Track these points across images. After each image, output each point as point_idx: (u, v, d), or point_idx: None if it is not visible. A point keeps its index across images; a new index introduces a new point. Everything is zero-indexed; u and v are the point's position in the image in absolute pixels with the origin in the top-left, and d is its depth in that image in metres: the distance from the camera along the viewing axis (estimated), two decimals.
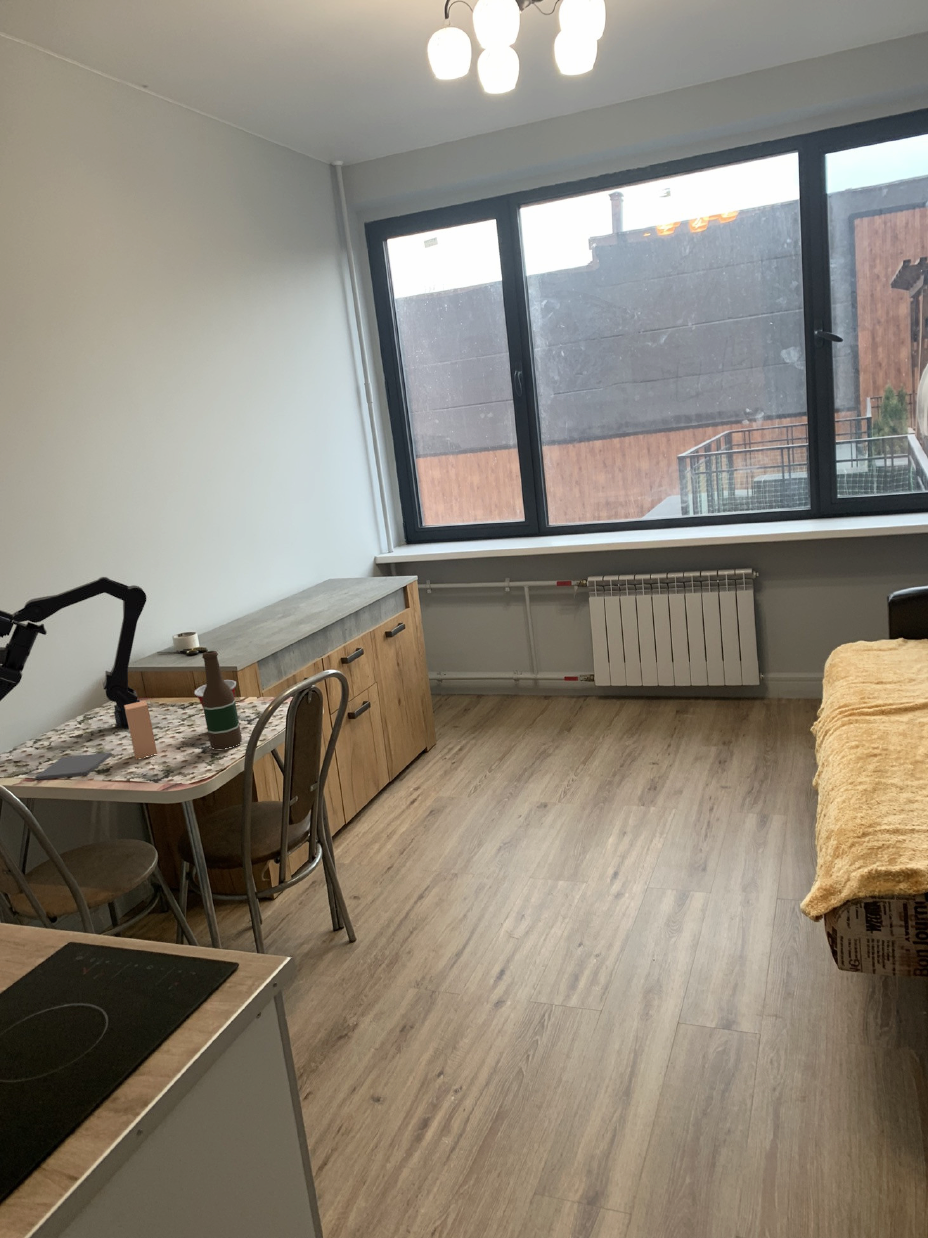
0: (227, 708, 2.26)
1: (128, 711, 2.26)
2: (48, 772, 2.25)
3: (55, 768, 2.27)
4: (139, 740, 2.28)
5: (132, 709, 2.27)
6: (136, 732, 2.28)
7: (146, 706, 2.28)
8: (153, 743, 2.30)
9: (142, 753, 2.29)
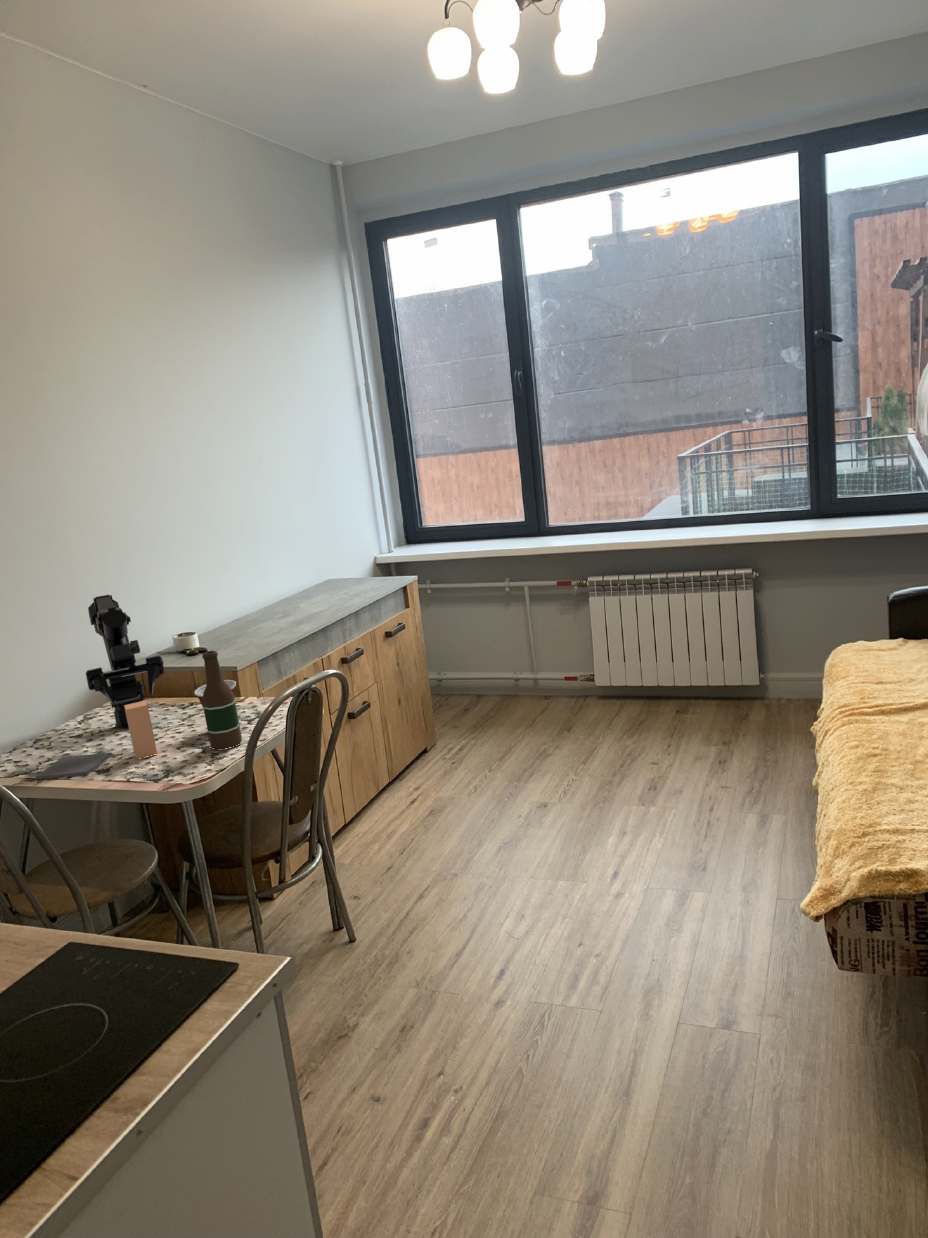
0: (227, 708, 2.26)
1: (128, 711, 2.26)
2: (48, 772, 2.25)
3: (55, 768, 2.27)
4: (139, 740, 2.28)
5: (132, 709, 2.27)
6: (136, 732, 2.28)
7: (146, 706, 2.28)
8: (153, 743, 2.30)
9: (142, 753, 2.29)
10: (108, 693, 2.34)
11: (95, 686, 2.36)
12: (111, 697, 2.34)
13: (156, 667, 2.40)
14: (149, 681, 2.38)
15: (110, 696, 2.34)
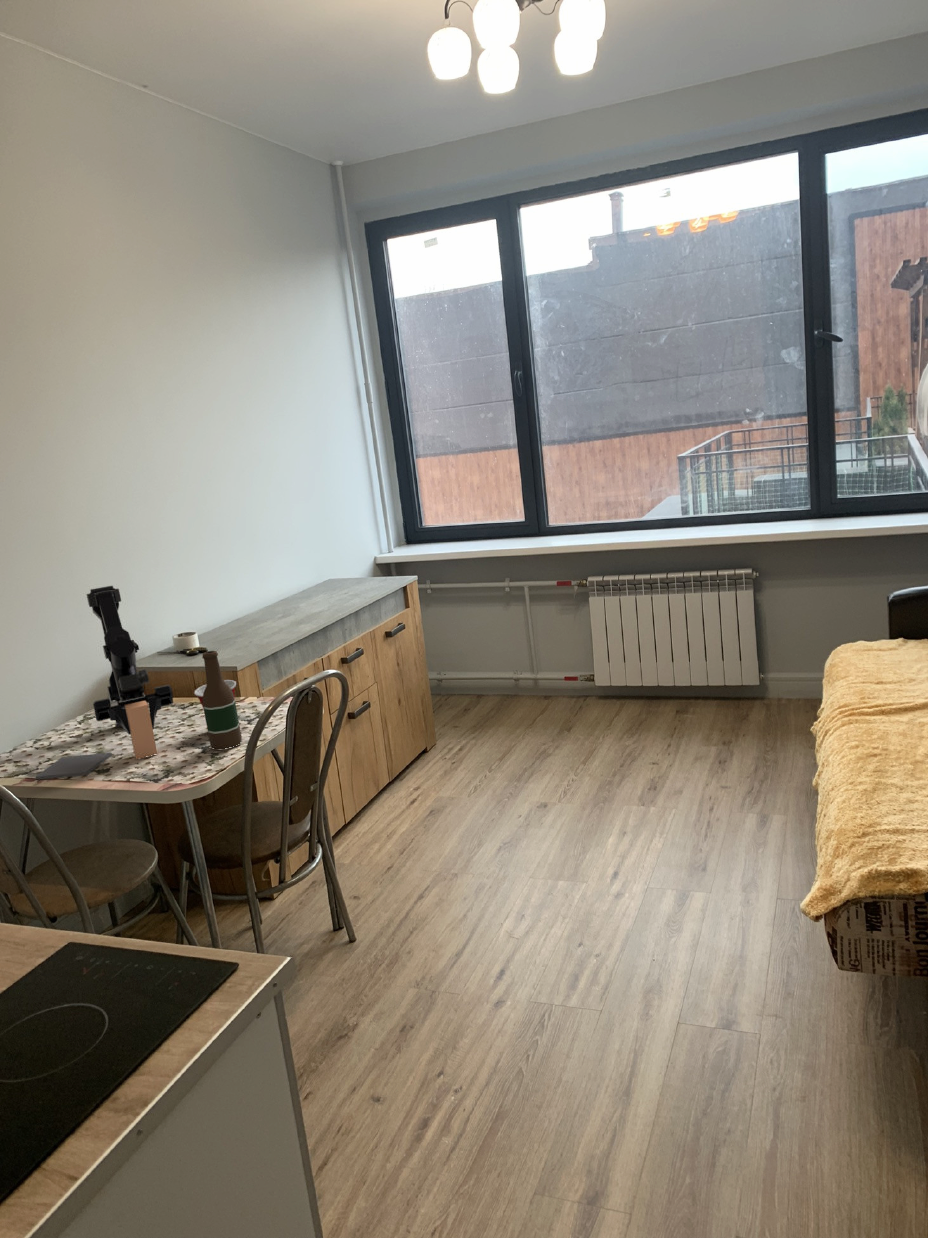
0: (227, 708, 2.26)
1: (128, 711, 2.26)
2: (48, 772, 2.25)
3: (55, 768, 2.27)
4: (139, 740, 2.28)
5: (132, 709, 2.27)
6: (136, 732, 2.28)
7: (146, 706, 2.28)
8: (153, 743, 2.30)
9: (142, 753, 2.29)
10: (124, 723, 2.28)
11: (110, 715, 2.30)
12: (127, 727, 2.28)
13: (157, 699, 2.33)
14: (150, 713, 2.31)
15: (126, 726, 2.28)
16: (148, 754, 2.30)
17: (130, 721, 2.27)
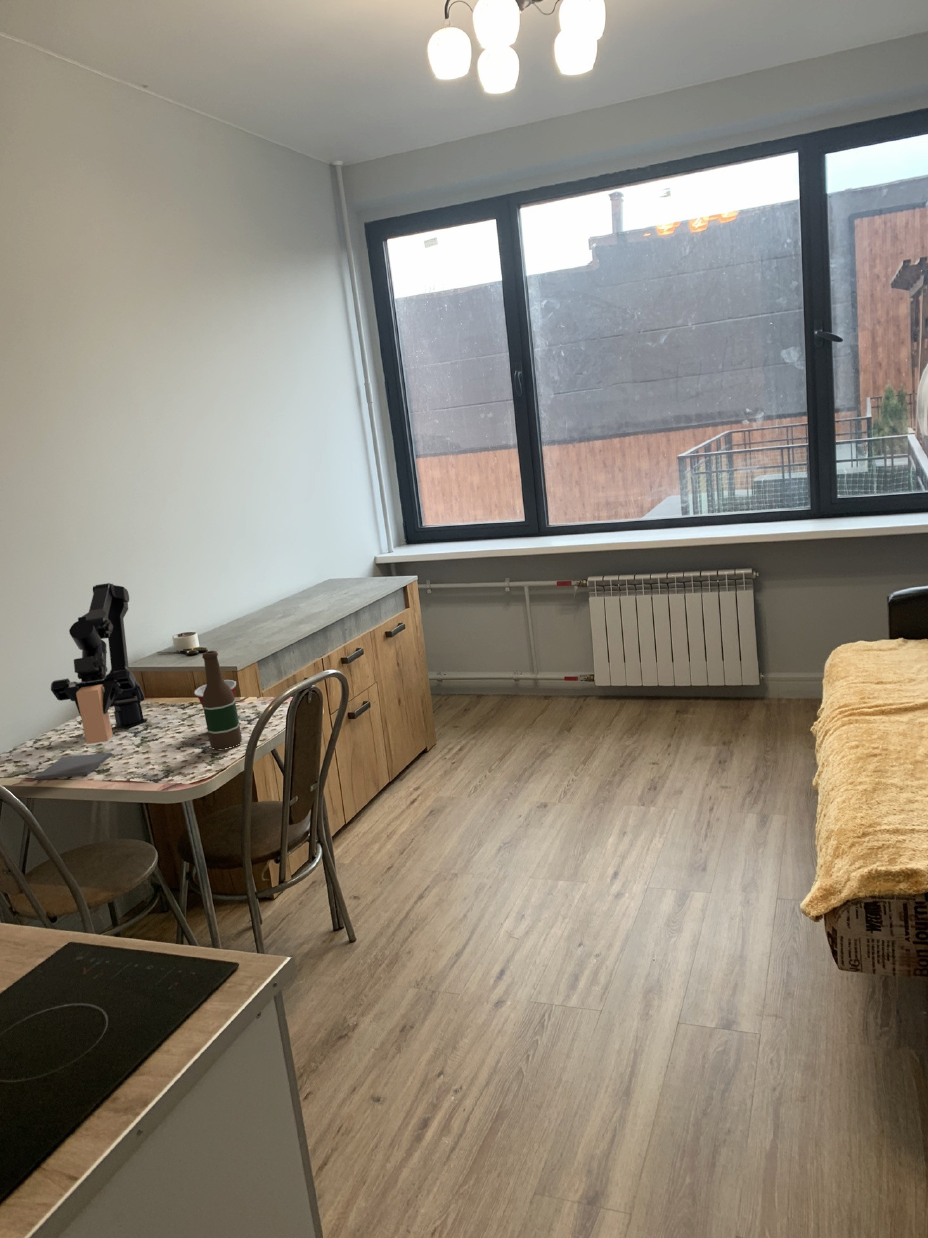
0: (227, 708, 2.26)
1: (78, 694, 2.23)
2: (48, 772, 2.25)
3: (55, 768, 2.27)
4: (89, 724, 2.25)
5: (82, 693, 2.23)
6: (86, 716, 2.24)
7: (96, 691, 2.23)
8: (103, 729, 2.25)
9: (93, 738, 2.25)
10: (77, 705, 2.25)
11: (69, 696, 2.28)
12: (79, 710, 2.25)
13: (113, 683, 2.27)
14: (104, 698, 2.27)
15: (79, 709, 2.25)
16: (98, 739, 2.26)
17: (80, 705, 2.23)
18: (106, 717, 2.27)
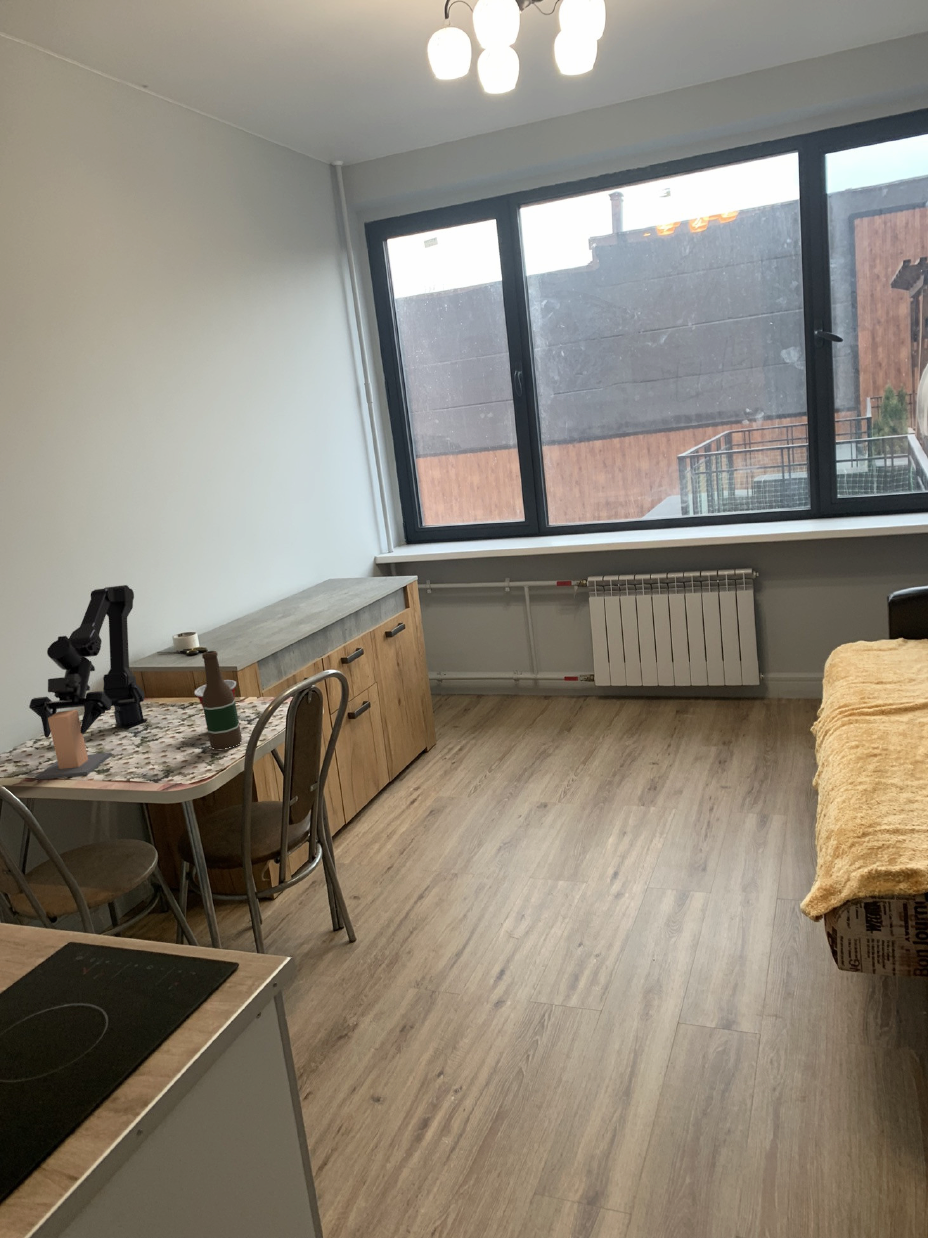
0: (227, 708, 2.26)
1: (49, 720, 2.24)
2: (48, 772, 2.25)
3: (55, 768, 2.27)
4: (61, 750, 2.26)
5: (53, 718, 2.24)
6: (58, 741, 2.25)
7: (66, 717, 2.24)
8: (74, 755, 2.26)
9: (64, 763, 2.26)
10: (43, 725, 2.27)
11: None
12: (45, 730, 2.27)
13: (92, 704, 2.27)
14: (83, 718, 2.26)
15: (44, 729, 2.27)
16: (70, 765, 2.26)
17: (51, 730, 2.25)
18: (79, 743, 2.28)
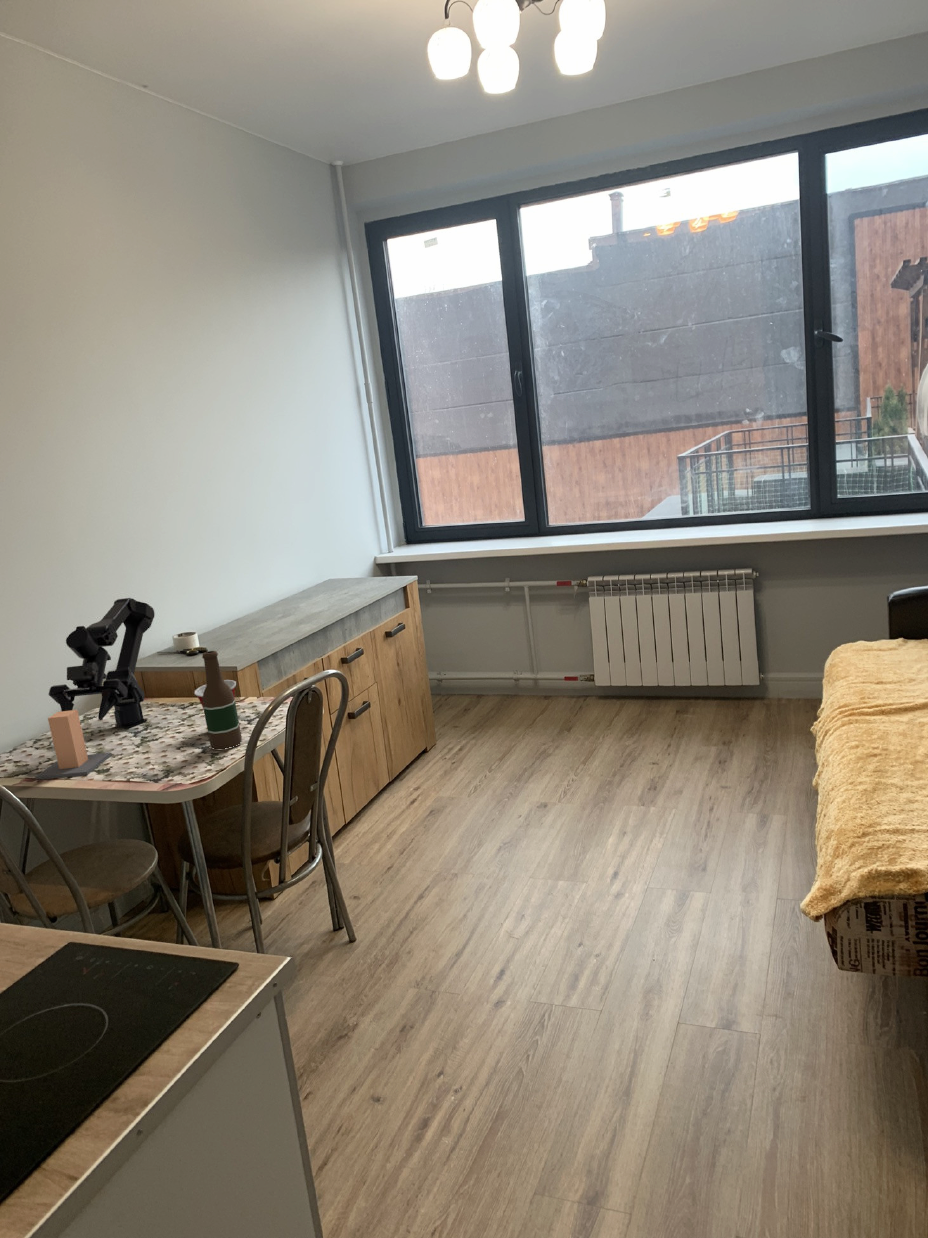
0: (227, 708, 2.26)
1: (49, 720, 2.24)
2: (48, 772, 2.25)
3: (55, 768, 2.27)
4: (61, 750, 2.26)
5: (53, 718, 2.24)
6: (58, 741, 2.25)
7: (66, 717, 2.24)
8: (74, 755, 2.26)
9: (64, 763, 2.26)
10: None
11: (59, 702, 2.40)
12: None
13: (110, 691, 2.36)
14: (101, 705, 2.36)
15: None
16: (70, 765, 2.26)
17: (51, 730, 2.25)
18: (79, 743, 2.28)
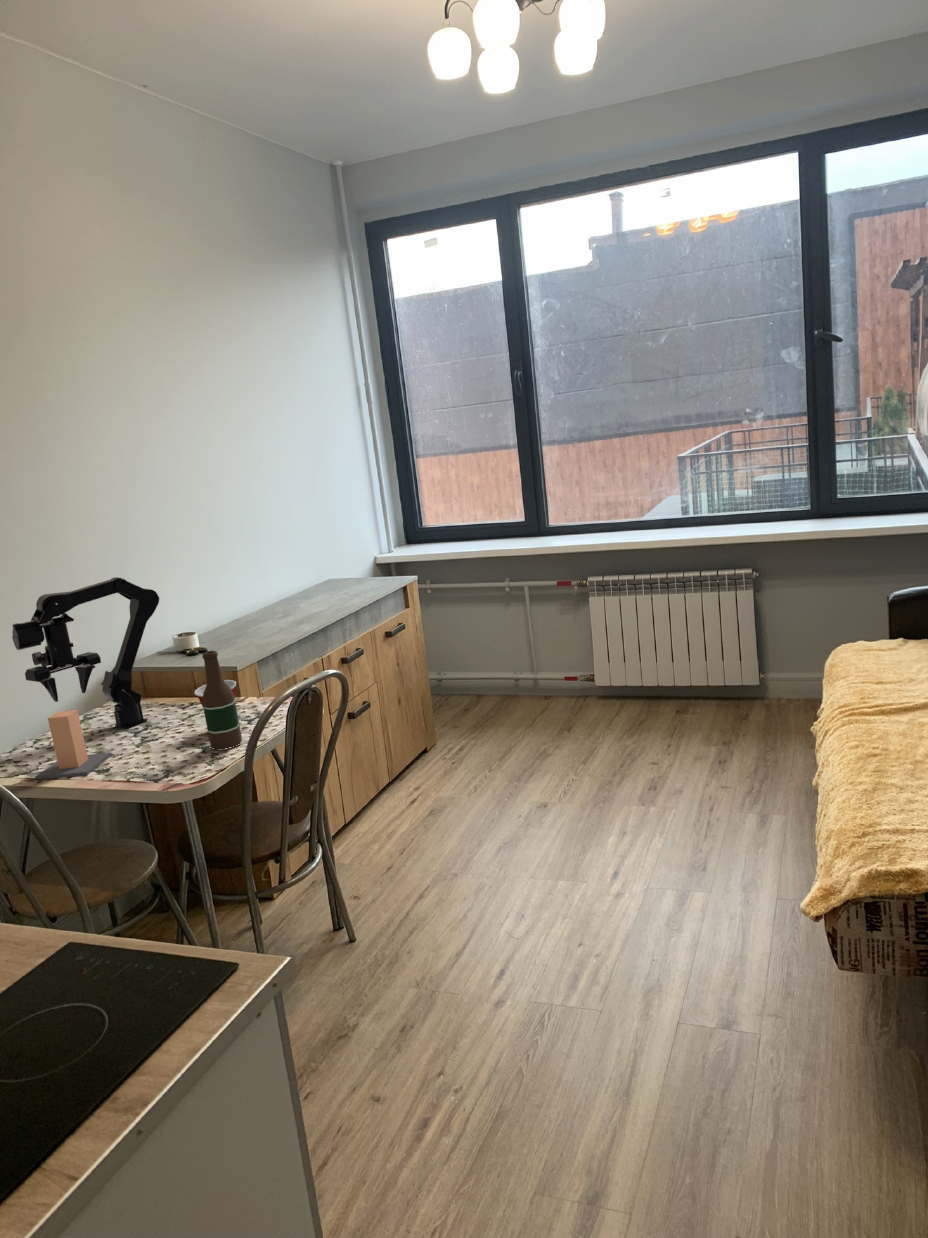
0: (227, 708, 2.26)
1: (49, 720, 2.24)
2: (48, 772, 2.25)
3: (55, 768, 2.27)
4: (61, 750, 2.26)
5: (53, 718, 2.24)
6: (58, 741, 2.25)
7: (66, 717, 2.24)
8: (74, 755, 2.26)
9: (64, 763, 2.26)
10: None
11: None
12: None
13: None
14: None
15: None
16: (70, 765, 2.26)
17: (51, 730, 2.25)
18: (79, 743, 2.28)
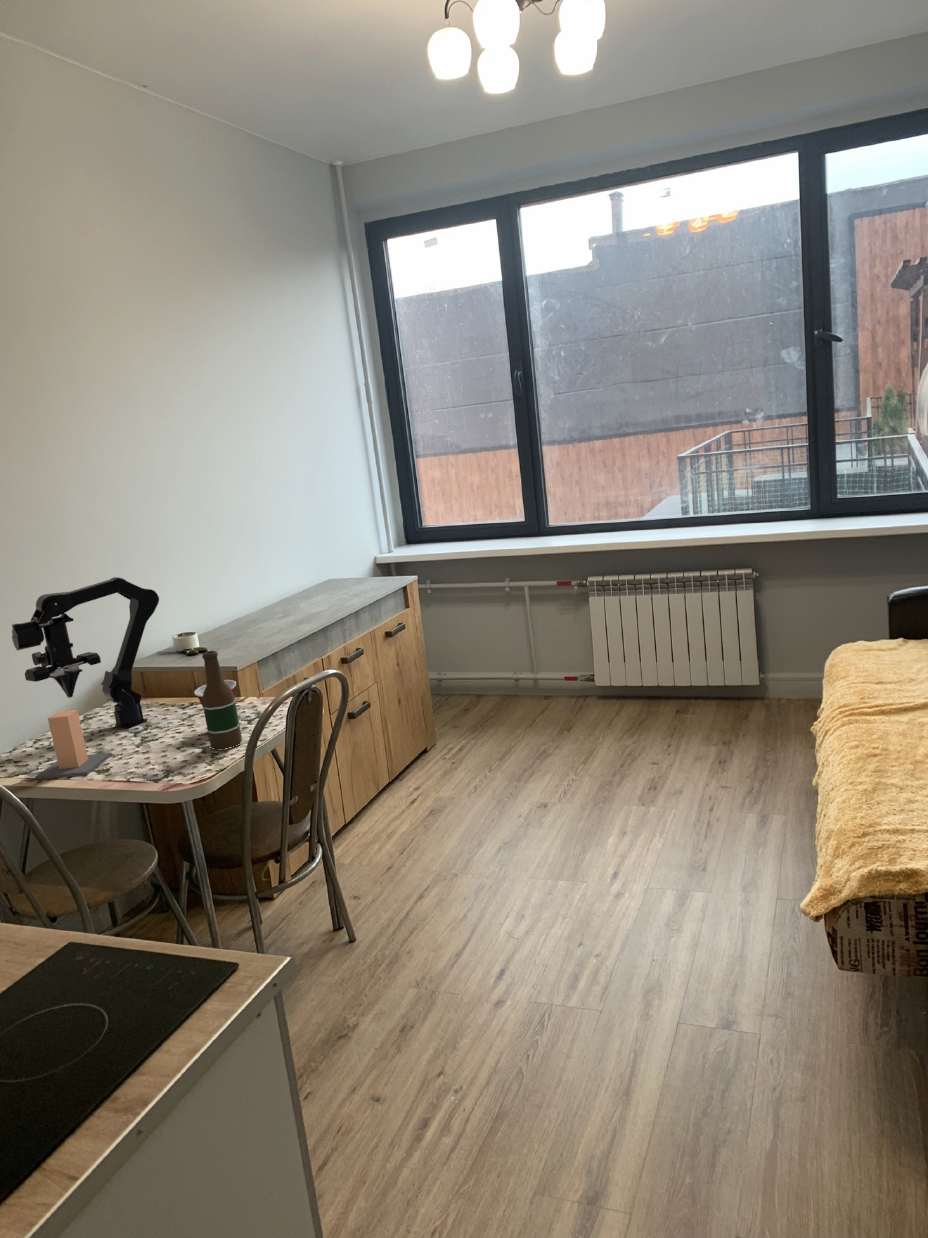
0: (227, 708, 2.26)
1: (49, 720, 2.24)
2: (48, 772, 2.25)
3: (55, 768, 2.27)
4: (61, 750, 2.26)
5: (53, 718, 2.24)
6: (58, 741, 2.25)
7: (66, 717, 2.24)
8: (74, 755, 2.26)
9: (64, 763, 2.26)
10: None
11: None
12: None
13: None
14: None
15: None
16: (70, 765, 2.26)
17: (51, 730, 2.25)
18: (79, 743, 2.28)
